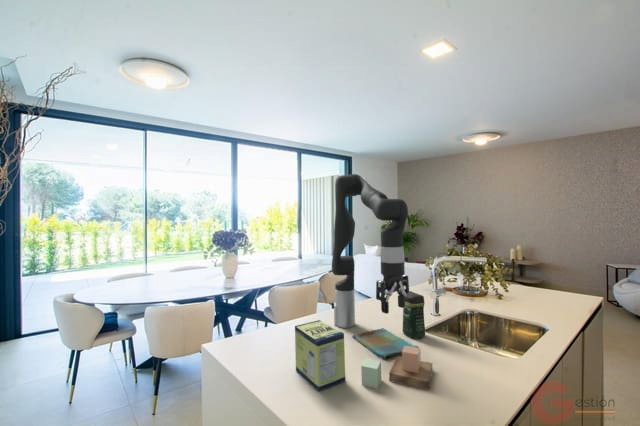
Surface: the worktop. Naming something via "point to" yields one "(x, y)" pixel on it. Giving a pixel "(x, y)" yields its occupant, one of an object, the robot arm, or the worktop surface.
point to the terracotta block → (411, 359)
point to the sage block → (371, 373)
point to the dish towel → (382, 343)
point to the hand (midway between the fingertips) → (393, 309)
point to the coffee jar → (414, 315)
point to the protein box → (320, 354)
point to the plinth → (411, 374)
